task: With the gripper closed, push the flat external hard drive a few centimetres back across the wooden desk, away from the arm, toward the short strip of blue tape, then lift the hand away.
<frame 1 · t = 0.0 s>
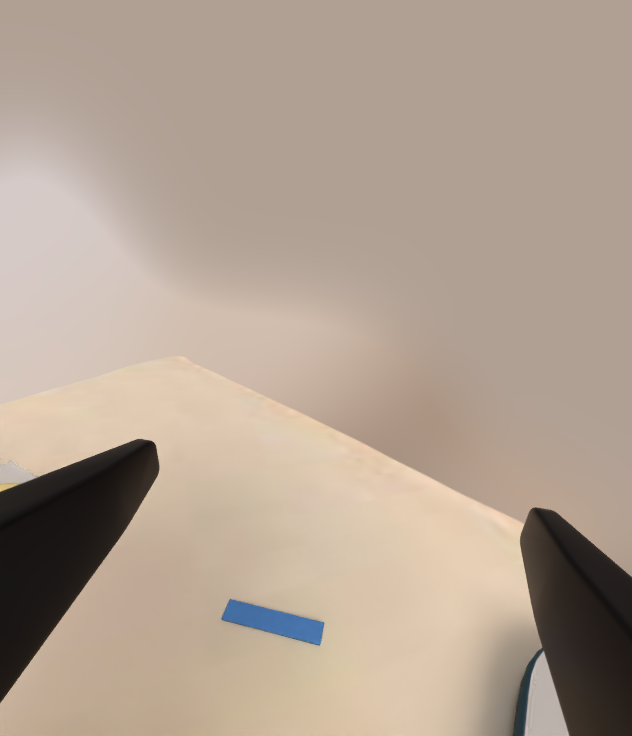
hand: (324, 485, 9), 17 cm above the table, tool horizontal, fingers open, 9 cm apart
tape mark: (272, 621, 21), on the table
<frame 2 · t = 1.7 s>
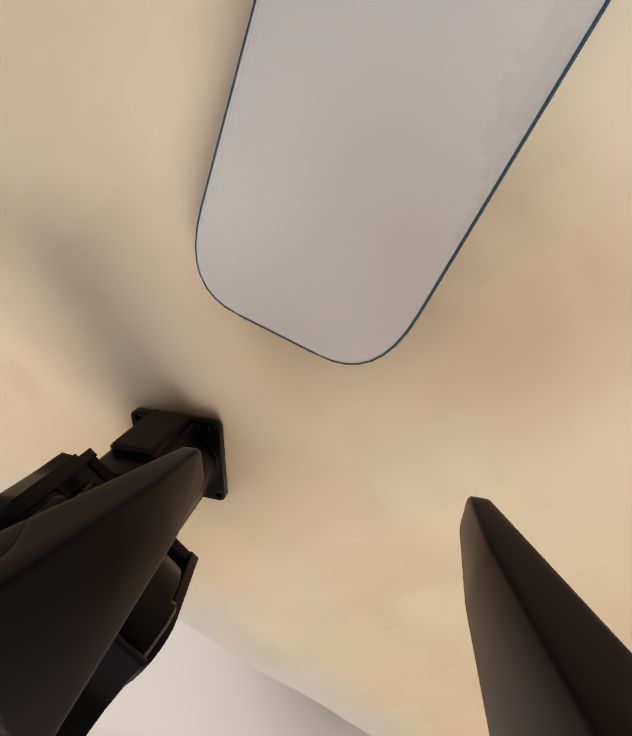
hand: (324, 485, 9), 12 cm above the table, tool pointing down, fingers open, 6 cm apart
external hard drive: (391, 86, 15), on the table
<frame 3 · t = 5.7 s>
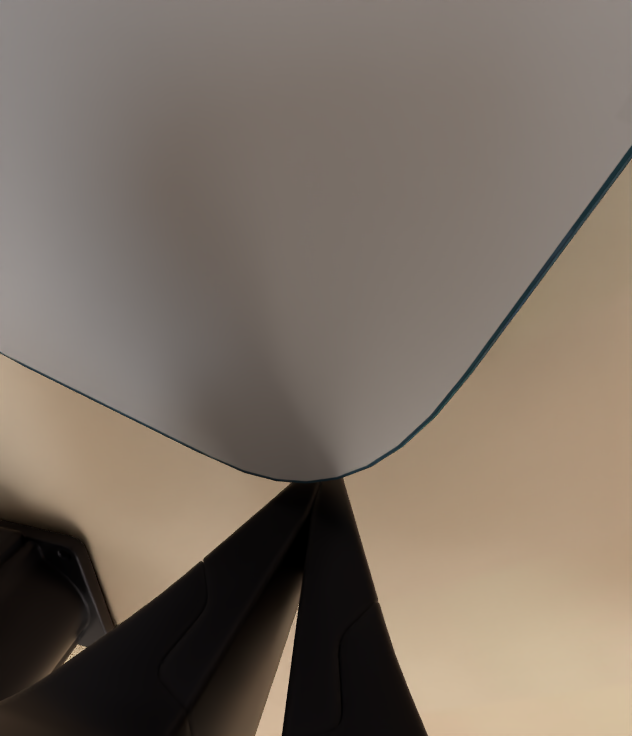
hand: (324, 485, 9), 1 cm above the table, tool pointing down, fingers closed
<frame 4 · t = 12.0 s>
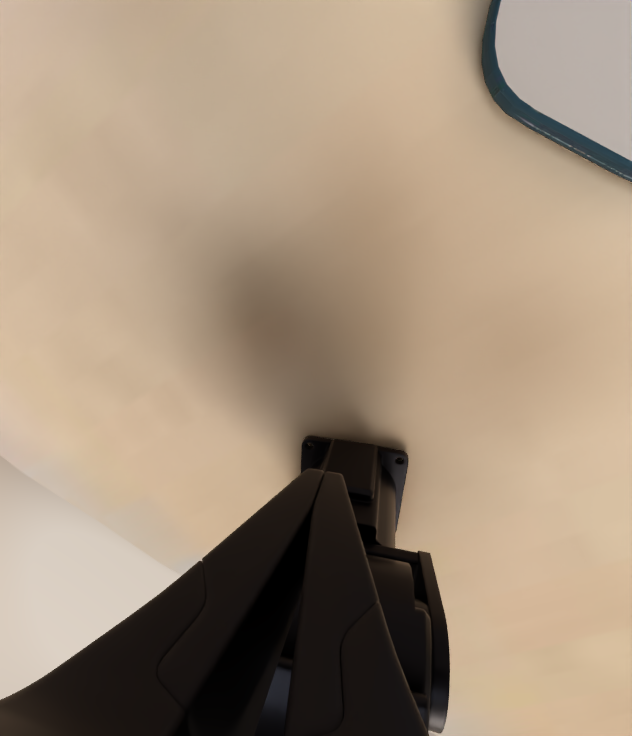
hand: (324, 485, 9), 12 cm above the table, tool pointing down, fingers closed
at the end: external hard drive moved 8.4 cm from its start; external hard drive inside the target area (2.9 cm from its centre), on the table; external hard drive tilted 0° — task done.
